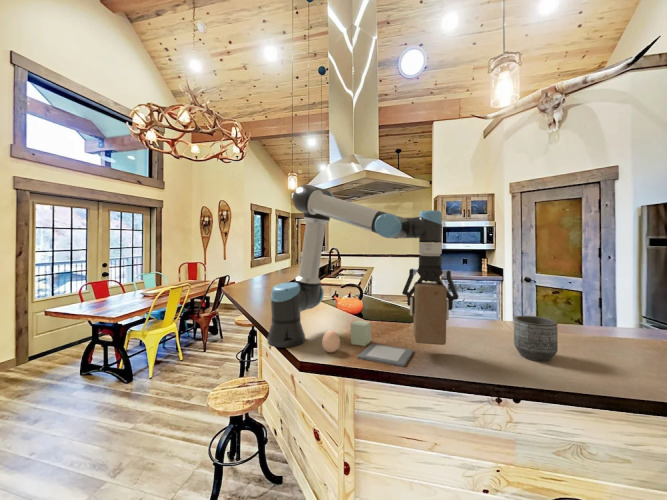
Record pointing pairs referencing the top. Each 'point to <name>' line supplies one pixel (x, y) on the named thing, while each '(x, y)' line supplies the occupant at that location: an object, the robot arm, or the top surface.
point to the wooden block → (430, 313)
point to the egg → (331, 341)
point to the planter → (535, 337)
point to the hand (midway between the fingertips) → (429, 316)
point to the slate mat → (386, 354)
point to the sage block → (360, 333)
